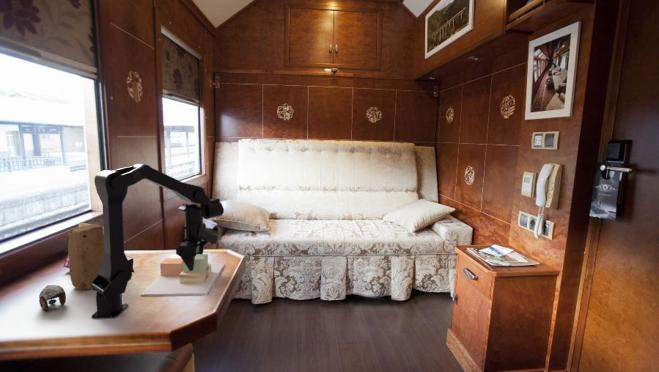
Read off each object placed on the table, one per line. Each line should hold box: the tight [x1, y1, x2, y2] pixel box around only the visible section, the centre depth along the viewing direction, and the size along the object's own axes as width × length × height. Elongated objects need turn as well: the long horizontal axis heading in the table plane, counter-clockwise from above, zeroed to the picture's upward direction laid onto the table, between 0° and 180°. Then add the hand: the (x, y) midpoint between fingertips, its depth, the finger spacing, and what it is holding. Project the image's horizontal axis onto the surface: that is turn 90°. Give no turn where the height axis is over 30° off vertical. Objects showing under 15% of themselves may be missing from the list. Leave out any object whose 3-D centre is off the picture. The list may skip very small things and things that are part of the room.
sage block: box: [182, 253, 209, 272], centre depth 112 cm, size 5×7×4 cm
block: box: [67, 223, 105, 291], centre depth 105 cm, size 11×8×20 cm
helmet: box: [38, 284, 67, 312], centre depth 91 cm, size 6×8×7 cm
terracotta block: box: [159, 257, 183, 276], centre depth 116 cm, size 5×7×4 cm
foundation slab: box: [179, 263, 212, 283], centre depth 113 cm, size 9×8×3 cm
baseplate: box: [140, 263, 225, 297], centre depth 113 cm, size 24×20×1 cm
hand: (195, 265), depth 112 cm, fingers open, 9 cm apart
